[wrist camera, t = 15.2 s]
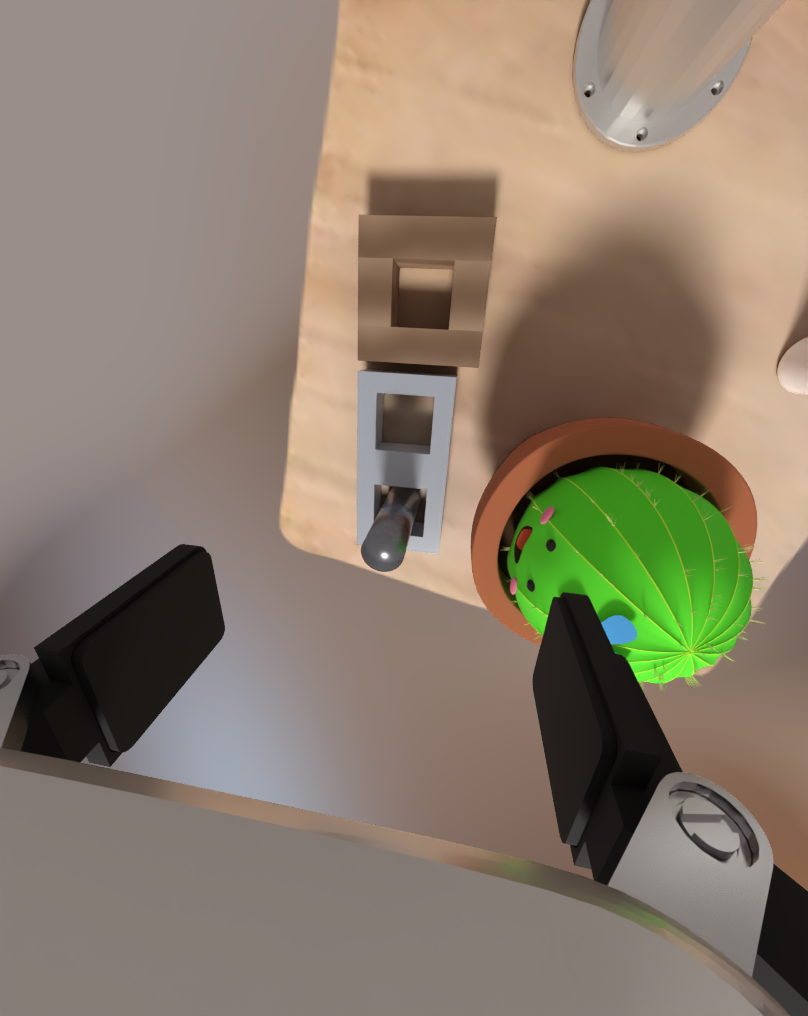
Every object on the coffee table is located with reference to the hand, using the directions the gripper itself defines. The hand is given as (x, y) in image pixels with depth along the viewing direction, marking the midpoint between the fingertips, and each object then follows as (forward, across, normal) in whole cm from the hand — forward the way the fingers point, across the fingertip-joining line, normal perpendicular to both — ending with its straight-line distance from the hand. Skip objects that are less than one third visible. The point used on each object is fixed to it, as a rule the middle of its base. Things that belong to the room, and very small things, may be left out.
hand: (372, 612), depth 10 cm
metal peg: (+35, +4, +12) cm, 37 cm away
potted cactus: (+36, -15, +10) cm, 40 cm away
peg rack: (+35, +4, +7) cm, 36 cm away
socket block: (+36, +3, -10) cm, 37 cm away
